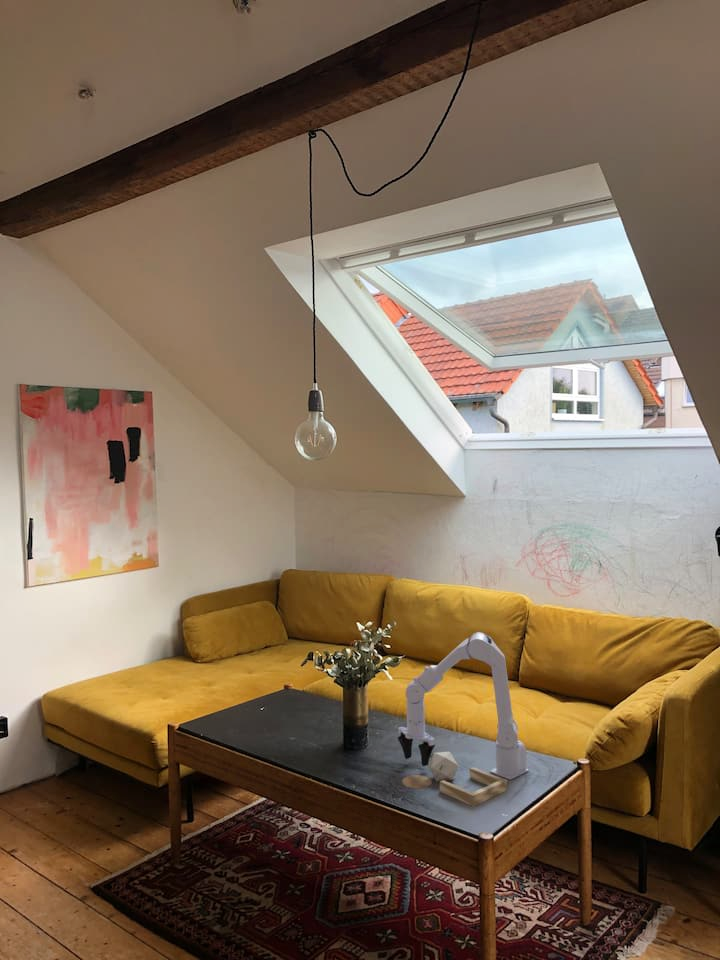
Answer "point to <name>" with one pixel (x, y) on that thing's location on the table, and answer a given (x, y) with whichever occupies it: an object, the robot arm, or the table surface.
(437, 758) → the die
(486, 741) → the table surface
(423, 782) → the coaster
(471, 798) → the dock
